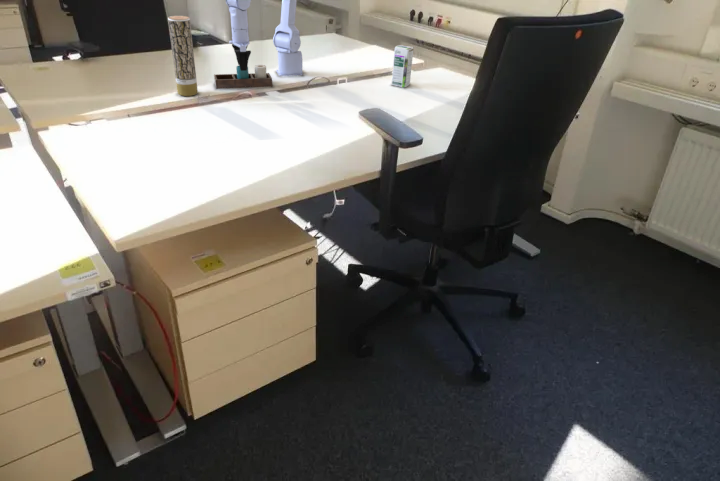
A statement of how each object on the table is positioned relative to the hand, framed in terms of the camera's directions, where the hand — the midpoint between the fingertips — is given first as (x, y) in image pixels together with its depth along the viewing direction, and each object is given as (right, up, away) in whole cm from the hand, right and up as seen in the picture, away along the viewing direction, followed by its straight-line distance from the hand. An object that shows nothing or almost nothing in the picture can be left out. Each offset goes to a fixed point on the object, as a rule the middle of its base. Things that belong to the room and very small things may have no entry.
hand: (242, 67), depth 195 cm
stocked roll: (+6, -5, +5) cm, 9 cm away
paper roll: (0, -5, +3) cm, 6 cm away
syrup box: (+59, -2, +15) cm, 61 cm away
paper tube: (-17, -12, -7) cm, 22 cm away
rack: (0, -6, +4) cm, 7 cm away
